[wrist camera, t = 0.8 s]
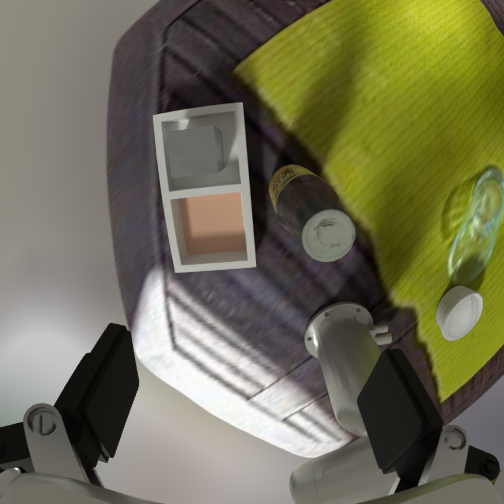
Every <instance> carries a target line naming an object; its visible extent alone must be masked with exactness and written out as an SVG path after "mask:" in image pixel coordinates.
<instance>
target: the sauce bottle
mask: <svg viewBox="0 0 504 504" xmlns="http://www.w3.org/2000/svg"><path fill="white" fill-rule="evenodd" d="M269 193H270V197H271V200H272V203H273V206H274V209H275V212H276V215H277V218H278V220H279V222H280V223H281V225H282V226H283V227H284V228H286V229H287V230H288V231H289V232H290V233H291V234H292V235H293V236H294V237H295V238H296V239H297V240H299V241H300V243H301V245H302V246H303V248H304V250H305V251H306V252H307V253H308V255H309V256H311V257H312V258H314V259H316V260H318V261H322V262H330V261H335V260H337V259H340V258H341V257H343V256H344V255H345V254H346V253H347V252H348V251H349V250H350V249H351V247H352V245H353V242H354V239H355V226H354V224H353V221H352V220H351V218H350V217H349V215H348V214H347V213H346V212H345V211H344V210H343V209H342V208H341V207H340V201H339V198H338V196H337V194H336V192H335V191H334V190H333V188H331V187H330V185H328V184H327V183H326V182H325V181H324V180H323V179H321V178H320V177H318V176H317V175H315V174H314V173H312V172H311V171H309V170H307V169H306V168H304V167H302V166H299V165H287V166H284V167H281V168H280V169H279V170H277V171H276V172H275V173H274V175H273V176H272V178H271V180H270V184H269Z"/></svg>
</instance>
